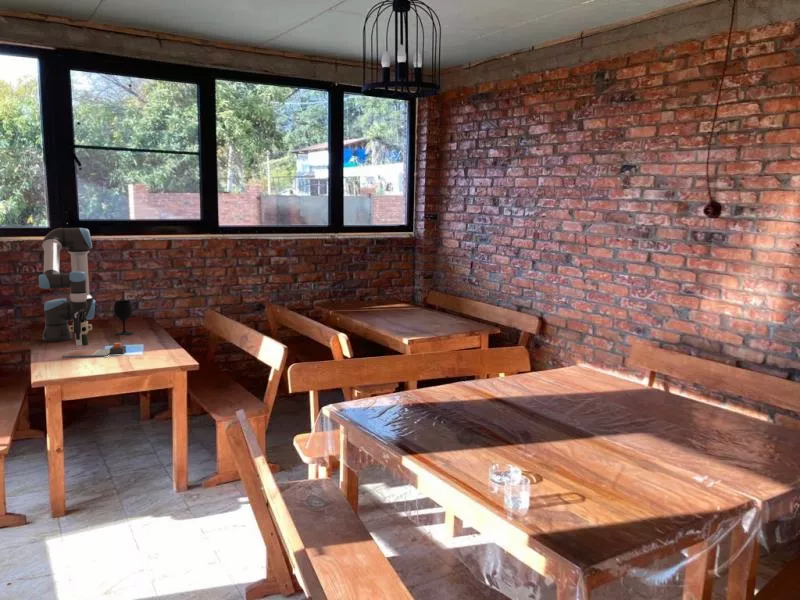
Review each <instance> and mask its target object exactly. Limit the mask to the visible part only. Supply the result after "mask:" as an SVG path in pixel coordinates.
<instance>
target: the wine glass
mask: <svg viewBox="0 0 800 600" xmlns="http://www.w3.org/2000/svg"><path fill="white" fill-rule="evenodd" d="M113 312H114V315H115V317H116V318H117V319H118V320H120V321H121V322H122V327H123V328H122V331H120V332H119V331H118V332H115V334H114V335H115V336H118V335H126V336H131V334H132V335H133V334H134V332H133V331H126V321H127V320H128V319H129V318H130V317H132V315H133V304H132V302H131V300H117V301H114V305H113Z"/></svg>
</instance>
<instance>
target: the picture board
mask: <svg viewBox="0 0 800 600" xmlns="http://www.w3.org/2000/svg"><path fill="white" fill-rule="evenodd" d="M109 354H110V348H99V349H98V348H97V349H96V348H94V349H93V348H91V349H86V348H85V349H70V350H69V351H68V352H66V353H64V354H63V355H62V356H61V358H62V357H63V358H62V359H69V358H68V357H81V358H105V357H104V356H108V355H109ZM109 356H110V355H109ZM109 356H108V357H109ZM65 357H66V358H65Z"/></svg>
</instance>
